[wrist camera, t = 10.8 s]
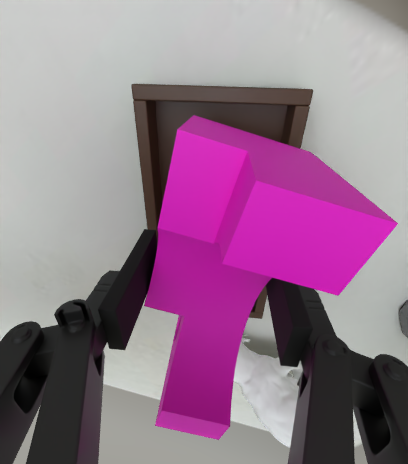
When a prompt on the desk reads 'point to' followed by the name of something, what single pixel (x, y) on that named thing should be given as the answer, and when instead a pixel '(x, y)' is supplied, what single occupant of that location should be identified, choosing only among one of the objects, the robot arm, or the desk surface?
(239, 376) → the white lumpy piece
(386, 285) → the desk surface
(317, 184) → the magenta curved bracket
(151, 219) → the dark brown rectangular tray
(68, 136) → the desk surface
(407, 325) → the coffeepot
